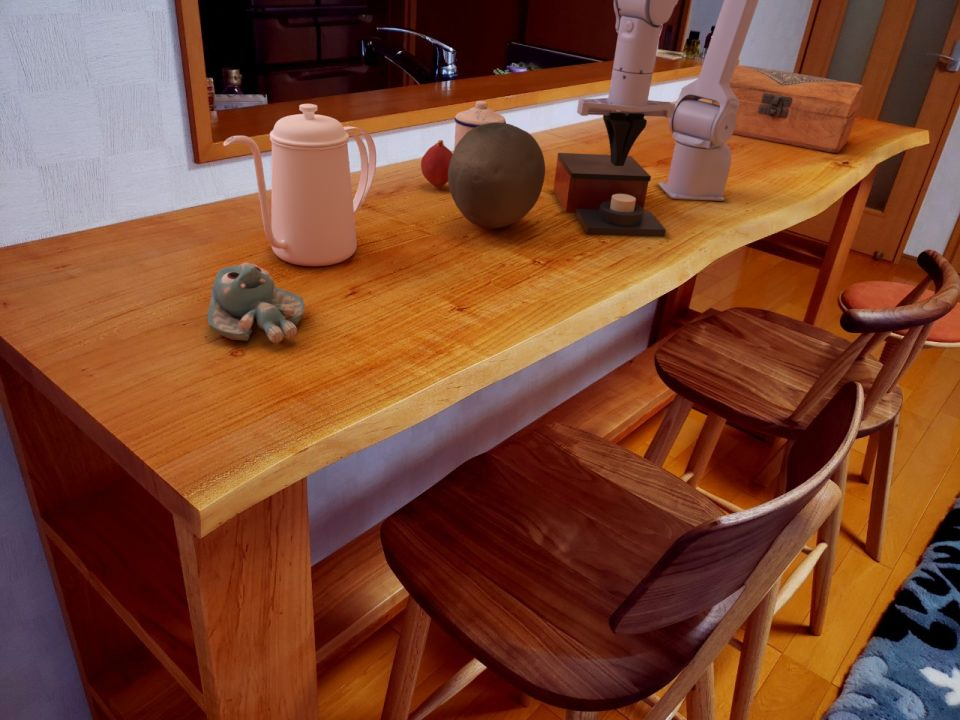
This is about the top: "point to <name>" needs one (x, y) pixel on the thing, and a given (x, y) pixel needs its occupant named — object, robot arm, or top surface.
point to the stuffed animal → (252, 304)
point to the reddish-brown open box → (593, 190)
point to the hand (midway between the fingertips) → (617, 164)
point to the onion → (436, 164)
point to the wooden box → (794, 108)
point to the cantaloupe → (496, 174)
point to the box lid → (601, 167)
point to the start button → (623, 203)
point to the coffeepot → (312, 187)
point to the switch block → (619, 222)
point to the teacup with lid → (474, 119)
